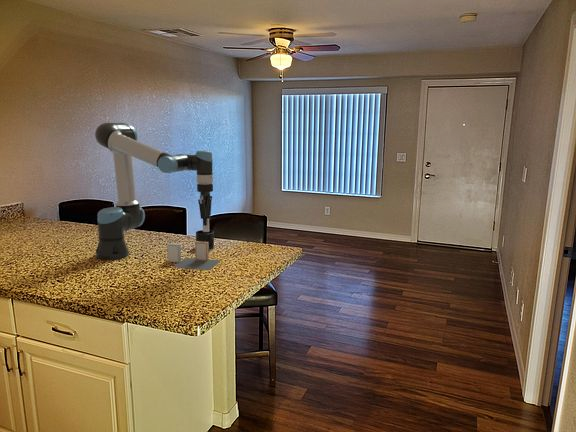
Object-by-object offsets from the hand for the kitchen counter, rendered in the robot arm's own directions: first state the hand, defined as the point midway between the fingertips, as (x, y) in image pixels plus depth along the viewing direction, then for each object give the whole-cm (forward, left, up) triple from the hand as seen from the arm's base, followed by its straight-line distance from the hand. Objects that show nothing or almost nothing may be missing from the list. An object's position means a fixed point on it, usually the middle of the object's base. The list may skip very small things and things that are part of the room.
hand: (206, 231), depth 219 cm
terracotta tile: (0, -5, -13) cm, 14 cm away
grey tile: (-12, -10, -14) cm, 21 cm away
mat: (0, -11, -14) cm, 18 cm away
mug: (-6, +17, -14) cm, 23 cm away
